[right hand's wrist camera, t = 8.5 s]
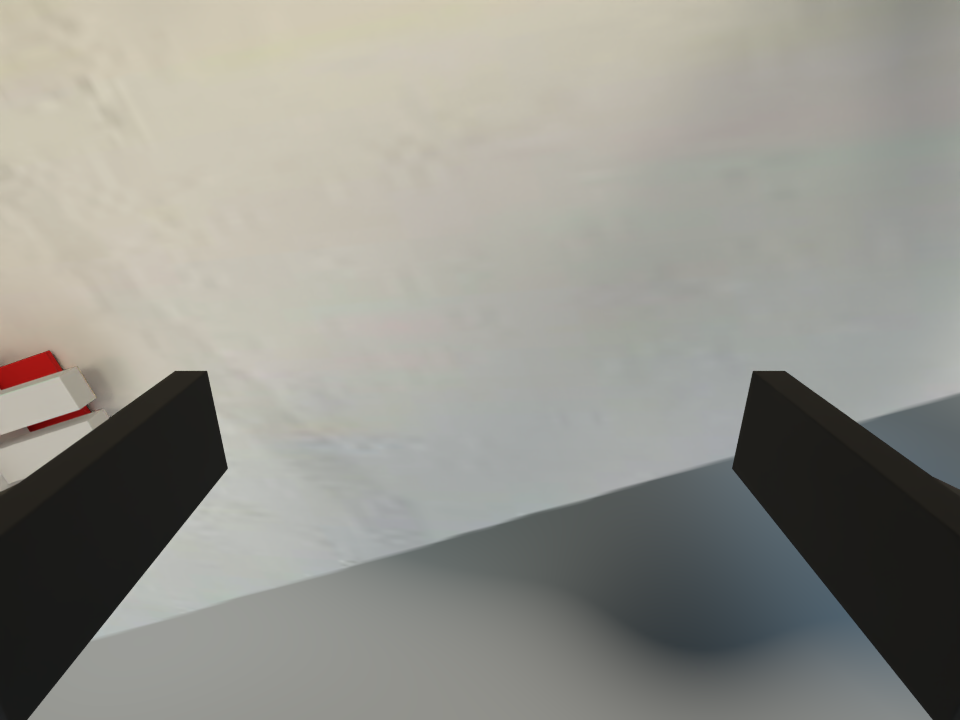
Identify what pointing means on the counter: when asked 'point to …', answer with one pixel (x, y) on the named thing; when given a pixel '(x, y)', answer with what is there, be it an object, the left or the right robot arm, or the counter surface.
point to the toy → (41, 414)
